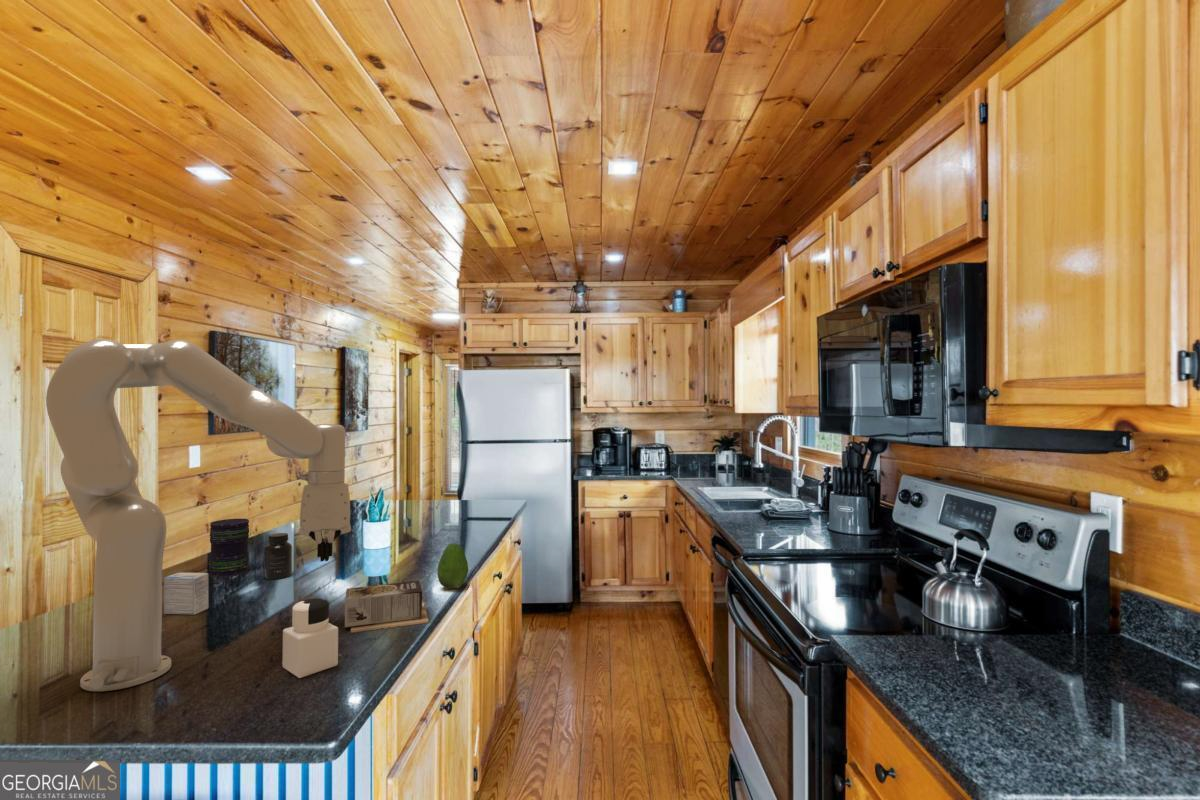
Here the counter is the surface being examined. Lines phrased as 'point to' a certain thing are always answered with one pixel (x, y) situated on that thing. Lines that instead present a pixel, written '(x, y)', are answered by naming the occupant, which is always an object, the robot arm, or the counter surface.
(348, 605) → the coffee box
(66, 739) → the counter surface
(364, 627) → the wooden cutting board
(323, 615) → the medicine bottle
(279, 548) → the supplement bottle
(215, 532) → the dark purple cylinder
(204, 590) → the medicine box
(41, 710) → the counter surface
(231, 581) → the counter surface
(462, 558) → the avocado
